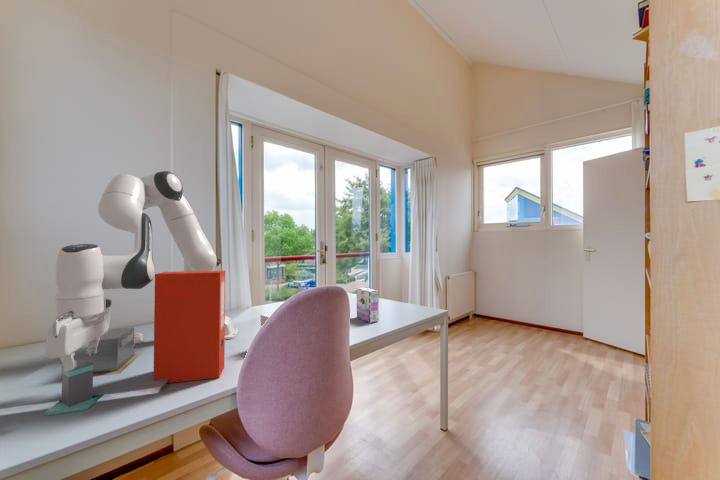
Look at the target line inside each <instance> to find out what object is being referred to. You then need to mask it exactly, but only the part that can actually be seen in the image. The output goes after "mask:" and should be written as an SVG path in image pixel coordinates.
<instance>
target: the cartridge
mask: <svg viewBox="0 0 720 480" xmlns="http://www.w3.org/2000/svg"><path fill="white" fill-rule="evenodd" d="M76 365H77V367H76V368H74V369H73V370H71V371H64V365H61V400H62V403H64V404H65V405H66V406H68V407H70V406H73V405H76V404H78V403H81V402H84V401H86V400H89V399H92V398H93V396H94V395H93V393H94V391H93V389H94V388H93V385H94V384H93V383H94V379H93V377H94V376H93V362H91V361H89V360H86V359H84V360H80V361H77V364H76Z"/></svg>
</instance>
